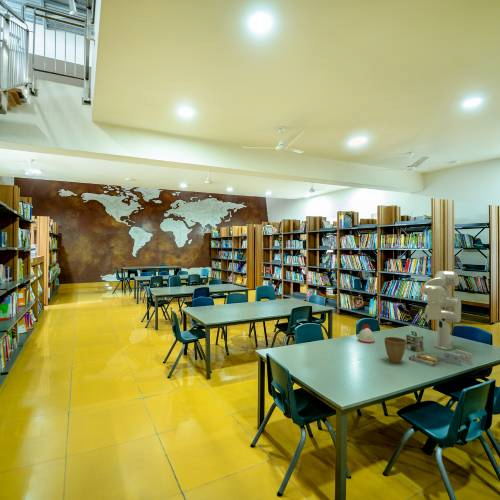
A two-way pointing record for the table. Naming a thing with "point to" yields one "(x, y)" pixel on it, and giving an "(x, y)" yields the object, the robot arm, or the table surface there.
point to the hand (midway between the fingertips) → (433, 327)
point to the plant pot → (395, 348)
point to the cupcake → (366, 335)
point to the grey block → (452, 358)
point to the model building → (414, 342)
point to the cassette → (467, 357)
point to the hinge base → (426, 359)
